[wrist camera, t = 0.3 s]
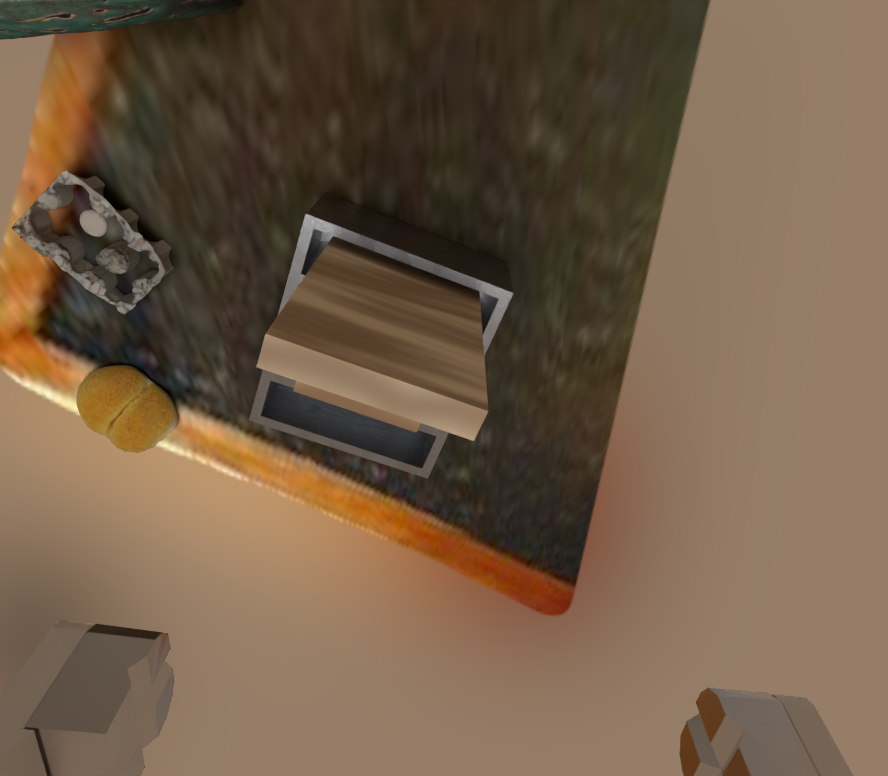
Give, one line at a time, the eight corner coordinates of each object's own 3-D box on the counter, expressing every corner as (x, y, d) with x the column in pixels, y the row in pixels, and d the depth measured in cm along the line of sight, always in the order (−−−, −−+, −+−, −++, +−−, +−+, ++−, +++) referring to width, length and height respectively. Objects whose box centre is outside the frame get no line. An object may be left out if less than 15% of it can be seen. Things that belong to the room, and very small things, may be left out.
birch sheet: (340, 224, 50) (265, 333, 31) (478, 277, 52) (488, 411, 33) (334, 247, 51) (256, 367, 32) (469, 298, 53) (473, 440, 34)
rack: (326, 192, 51) (305, 213, 44) (507, 262, 53) (513, 293, 46) (272, 378, 59) (248, 420, 52) (431, 432, 61) (427, 478, 55)
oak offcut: (323, 322, 54) (299, 369, 47) (430, 361, 56) (425, 412, 48) (317, 342, 55) (293, 391, 47) (422, 379, 57) (416, 432, 49)
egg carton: (34, 212, 52) (2, 224, 49) (90, 156, 50) (60, 164, 46) (133, 309, 56) (110, 326, 53) (189, 261, 54) (169, 276, 50)
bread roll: (115, 345, 58) (93, 364, 54) (194, 407, 61) (178, 429, 57) (68, 398, 61) (44, 419, 57) (146, 454, 64) (128, 477, 60)
